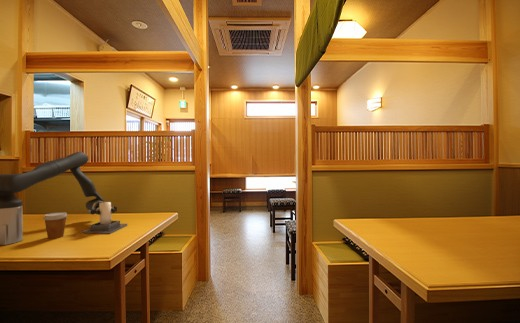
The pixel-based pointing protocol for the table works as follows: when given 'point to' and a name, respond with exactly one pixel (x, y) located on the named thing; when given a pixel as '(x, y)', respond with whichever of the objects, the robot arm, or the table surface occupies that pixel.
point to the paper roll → (105, 213)
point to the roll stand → (105, 228)
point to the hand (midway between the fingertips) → (106, 211)
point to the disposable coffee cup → (55, 224)
